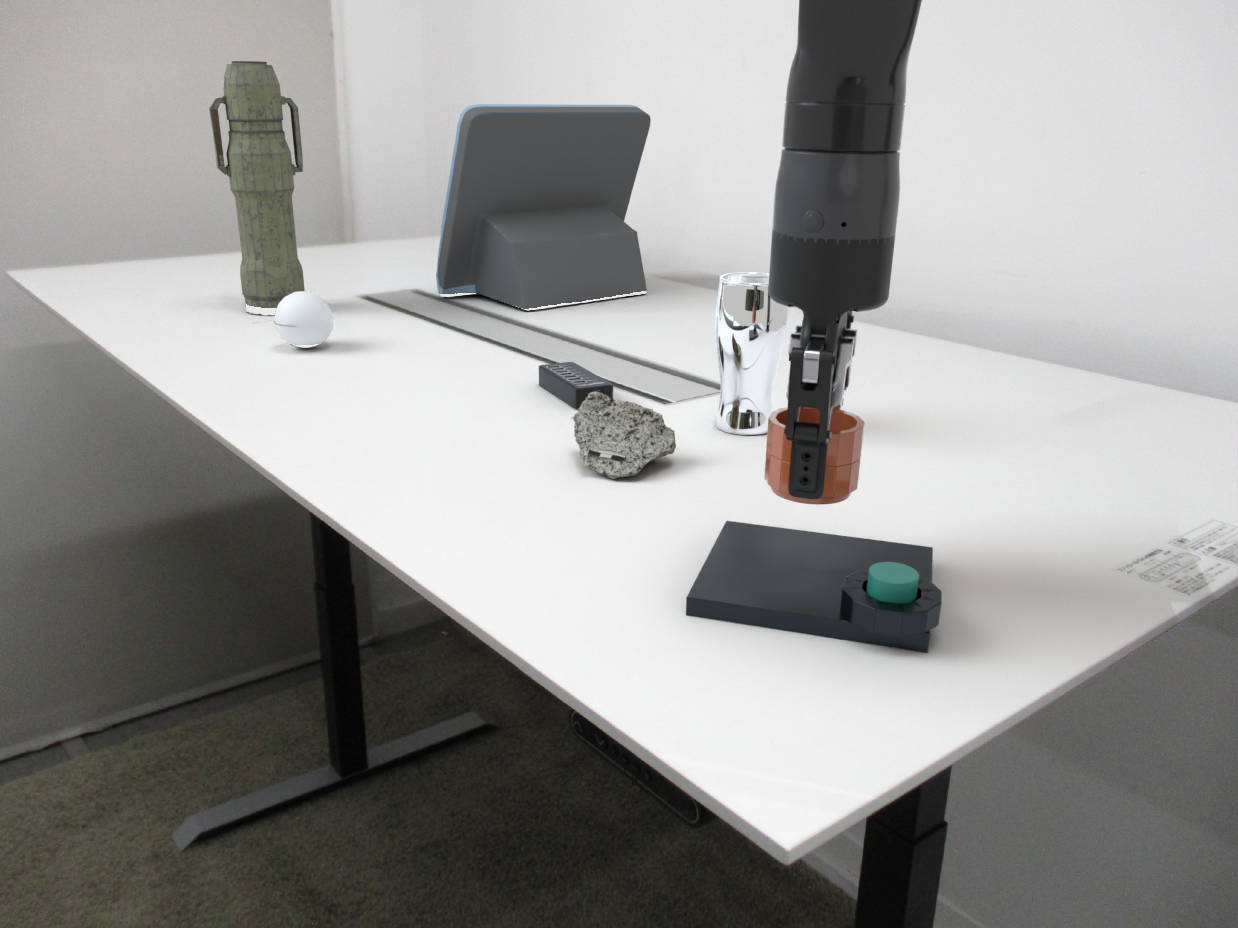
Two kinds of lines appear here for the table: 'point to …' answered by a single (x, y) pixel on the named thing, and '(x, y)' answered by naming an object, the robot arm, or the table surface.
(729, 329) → the beer glass
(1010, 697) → the table surface
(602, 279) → the touchscreen device
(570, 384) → the multiport hub
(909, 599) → the tare button
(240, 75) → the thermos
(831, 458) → the terracotta cup
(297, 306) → the white ball
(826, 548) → the scale
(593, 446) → the rock sample
